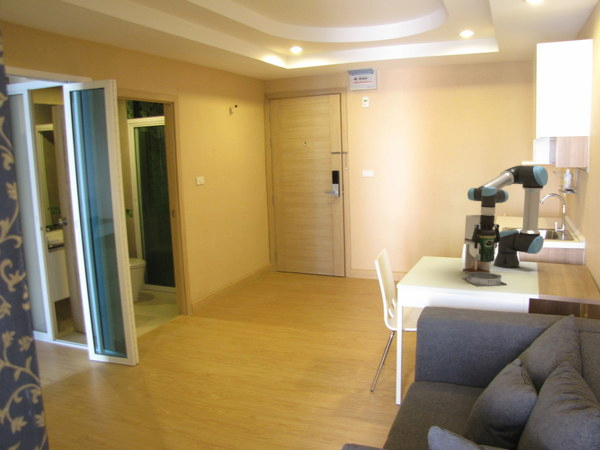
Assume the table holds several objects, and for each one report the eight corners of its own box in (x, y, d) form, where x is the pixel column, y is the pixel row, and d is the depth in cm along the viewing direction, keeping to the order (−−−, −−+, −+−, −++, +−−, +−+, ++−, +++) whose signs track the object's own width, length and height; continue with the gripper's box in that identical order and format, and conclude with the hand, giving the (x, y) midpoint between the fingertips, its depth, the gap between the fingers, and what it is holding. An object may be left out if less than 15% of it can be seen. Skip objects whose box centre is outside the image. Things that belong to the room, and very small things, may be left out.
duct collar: (491, 276, 296) (492, 271, 296) (509, 285, 279) (509, 278, 278) (459, 278, 293) (459, 272, 292) (474, 286, 275) (475, 280, 275)
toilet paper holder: (462, 271, 308) (465, 215, 303) (476, 270, 312) (479, 214, 307) (476, 276, 298) (479, 217, 293) (489, 274, 302) (493, 216, 297)
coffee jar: (489, 259, 288) (491, 227, 285) (496, 262, 280) (498, 229, 278) (473, 259, 287) (475, 227, 284) (479, 262, 279) (481, 229, 277)
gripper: (501, 213, 285) (499, 252, 289) (466, 213, 282) (463, 253, 285) (509, 215, 278) (506, 254, 281) (472, 215, 274) (470, 255, 278)
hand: (485, 254), depth 283 cm, fingers closed on coffee jar, 9 cm apart
